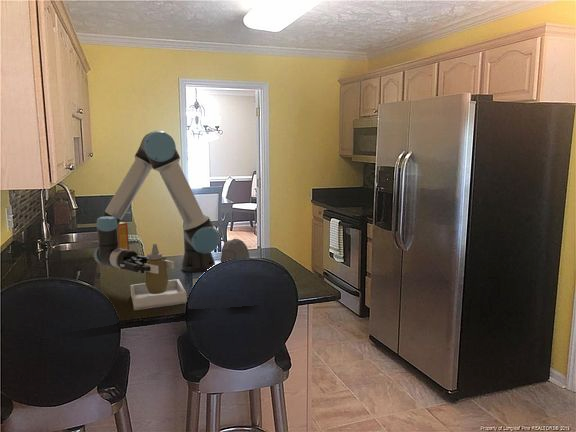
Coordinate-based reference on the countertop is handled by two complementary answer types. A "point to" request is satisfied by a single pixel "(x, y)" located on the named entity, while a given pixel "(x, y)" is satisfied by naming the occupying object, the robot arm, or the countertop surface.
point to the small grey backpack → (234, 250)
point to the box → (158, 296)
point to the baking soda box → (123, 236)
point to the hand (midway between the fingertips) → (165, 267)
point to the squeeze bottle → (153, 280)
